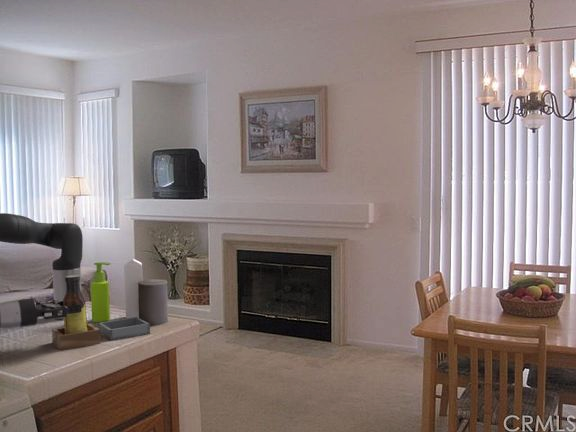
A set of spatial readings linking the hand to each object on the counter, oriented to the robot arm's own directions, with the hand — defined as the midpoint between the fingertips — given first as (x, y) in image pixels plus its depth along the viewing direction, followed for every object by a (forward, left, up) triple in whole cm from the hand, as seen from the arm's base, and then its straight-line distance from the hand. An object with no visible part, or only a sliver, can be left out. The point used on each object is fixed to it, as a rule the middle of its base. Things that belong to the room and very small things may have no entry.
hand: (77, 305), depth 165 cm
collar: (0, -1, -11) cm, 11 cm away
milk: (-20, +24, -11) cm, 33 cm away
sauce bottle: (0, -1, -11) cm, 11 cm away
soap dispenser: (-24, +14, -11) cm, 30 cm away
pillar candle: (-10, +27, -11) cm, 31 cm away
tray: (-2, +14, -11) cm, 18 cm away
